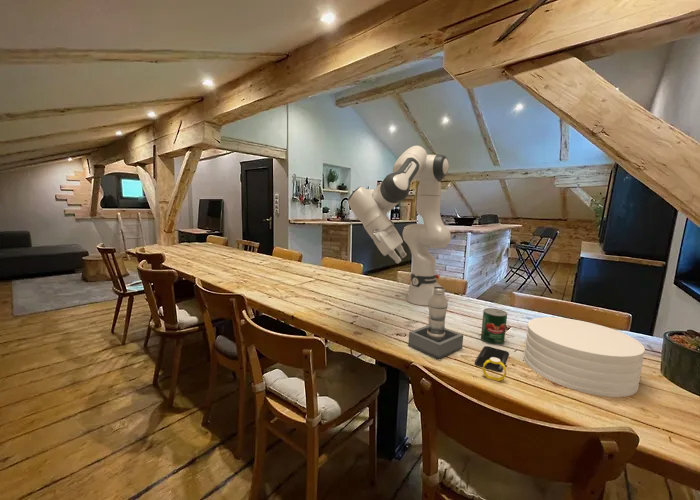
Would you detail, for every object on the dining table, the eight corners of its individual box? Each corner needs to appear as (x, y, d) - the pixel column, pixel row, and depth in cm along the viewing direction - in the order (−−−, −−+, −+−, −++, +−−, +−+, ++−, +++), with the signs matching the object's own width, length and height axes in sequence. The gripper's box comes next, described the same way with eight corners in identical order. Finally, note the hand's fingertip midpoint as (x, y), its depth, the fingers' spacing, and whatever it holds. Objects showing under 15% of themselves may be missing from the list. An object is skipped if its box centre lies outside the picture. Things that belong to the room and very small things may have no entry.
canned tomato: (490, 346, 109) (493, 316, 108) (476, 337, 117) (478, 308, 115) (509, 344, 112) (512, 314, 110) (493, 335, 119) (496, 307, 117)
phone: (509, 352, 104) (501, 370, 92) (509, 355, 104) (501, 374, 92) (484, 345, 108) (473, 362, 96) (484, 348, 109) (473, 365, 96)
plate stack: (637, 369, 97) (643, 334, 95) (638, 412, 76) (646, 368, 74) (534, 341, 115) (538, 311, 113) (513, 369, 94) (517, 333, 93)
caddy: (432, 336, 116) (433, 323, 116) (462, 348, 107) (463, 334, 106) (408, 345, 108) (409, 331, 107) (438, 360, 99) (439, 345, 98)
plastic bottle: (444, 341, 110) (449, 286, 107) (445, 350, 103) (449, 291, 100) (425, 338, 112) (429, 284, 109) (425, 347, 105) (428, 289, 102)
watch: (482, 379, 89) (482, 359, 88) (483, 374, 91) (483, 355, 91) (505, 384, 86) (506, 363, 85) (505, 379, 88) (506, 359, 88)
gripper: (378, 225, 101) (404, 260, 100) (392, 220, 120) (414, 249, 119) (363, 236, 103) (388, 271, 102) (379, 229, 122) (400, 258, 121)
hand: (402, 259), depth 111 cm, fingers open, 8 cm apart
